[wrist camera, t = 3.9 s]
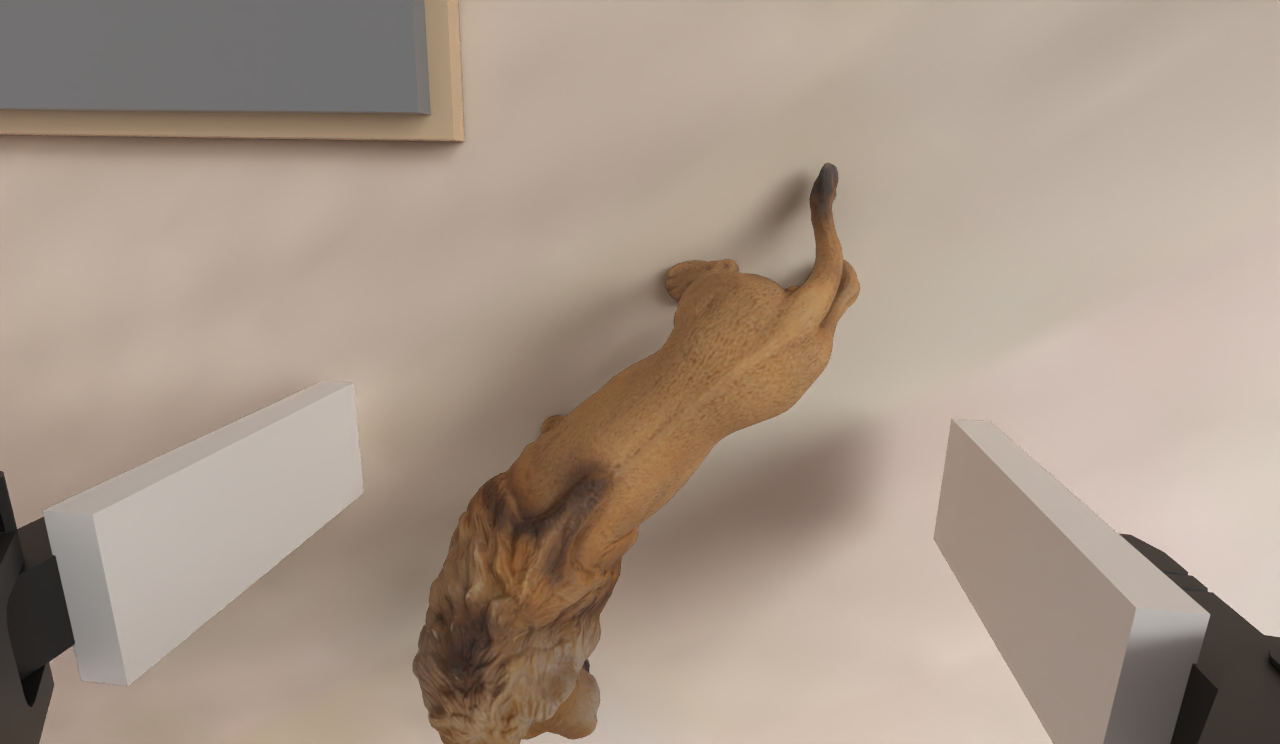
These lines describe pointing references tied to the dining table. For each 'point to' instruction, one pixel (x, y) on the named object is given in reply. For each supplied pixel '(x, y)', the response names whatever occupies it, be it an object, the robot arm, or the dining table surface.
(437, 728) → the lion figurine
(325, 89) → the pad
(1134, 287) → the dining table surface
